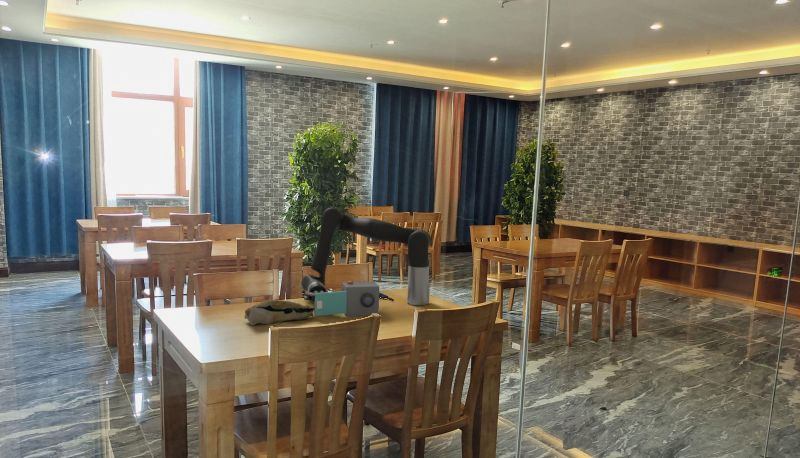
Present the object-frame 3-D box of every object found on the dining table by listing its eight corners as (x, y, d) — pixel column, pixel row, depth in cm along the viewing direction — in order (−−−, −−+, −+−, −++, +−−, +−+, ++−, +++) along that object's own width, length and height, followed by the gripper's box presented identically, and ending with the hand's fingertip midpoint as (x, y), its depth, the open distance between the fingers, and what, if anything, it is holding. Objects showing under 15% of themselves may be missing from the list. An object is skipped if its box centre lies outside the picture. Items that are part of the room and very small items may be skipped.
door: (314, 315, 218) (314, 293, 217) (345, 312, 224) (346, 290, 223) (315, 316, 217) (316, 293, 216) (346, 313, 222) (347, 291, 221)
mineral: (310, 294, 224) (319, 303, 216) (307, 315, 226) (316, 325, 217) (245, 295, 210) (252, 305, 202) (242, 318, 212) (249, 328, 204)
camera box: (373, 308, 237) (374, 279, 236) (379, 315, 226) (380, 284, 225) (341, 309, 234) (341, 279, 232) (345, 317, 222) (346, 285, 221)
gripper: (301, 283, 234) (304, 292, 217) (332, 282, 237) (338, 291, 220) (301, 300, 234) (304, 310, 218) (332, 299, 238) (337, 309, 221)
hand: (321, 301), depth 219 cm, fingers closed
